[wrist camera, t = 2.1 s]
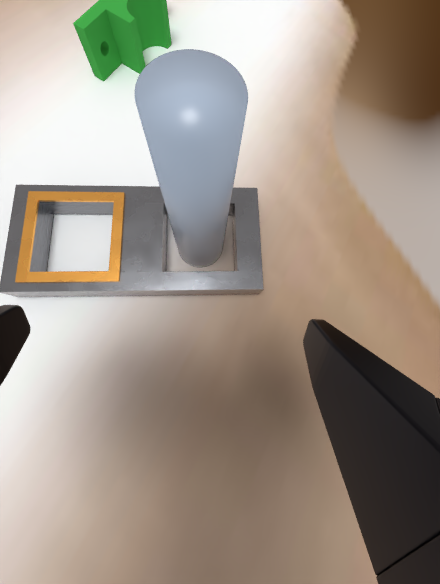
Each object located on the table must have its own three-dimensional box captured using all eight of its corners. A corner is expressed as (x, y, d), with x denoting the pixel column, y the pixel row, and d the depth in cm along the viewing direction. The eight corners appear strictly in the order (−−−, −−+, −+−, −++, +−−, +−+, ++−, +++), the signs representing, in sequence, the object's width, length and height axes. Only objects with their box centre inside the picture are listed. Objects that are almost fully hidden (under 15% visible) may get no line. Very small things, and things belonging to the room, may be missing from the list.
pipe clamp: (125, 96, 26) (107, 44, 21) (95, 78, 26) (72, 23, 22) (187, 29, 28) (183, -32, 23) (160, 13, 28) (150, -49, 24)
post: (230, 238, 23) (266, 79, 9) (208, 275, 22) (214, 161, 8) (192, 217, 23) (172, 33, 9) (169, 253, 22) (111, 107, 9)
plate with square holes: (253, 200, 24) (257, 186, 22) (258, 294, 22) (263, 288, 20) (32, 198, 23) (14, 183, 20) (18, 297, 21) (-4, 291, 19)
